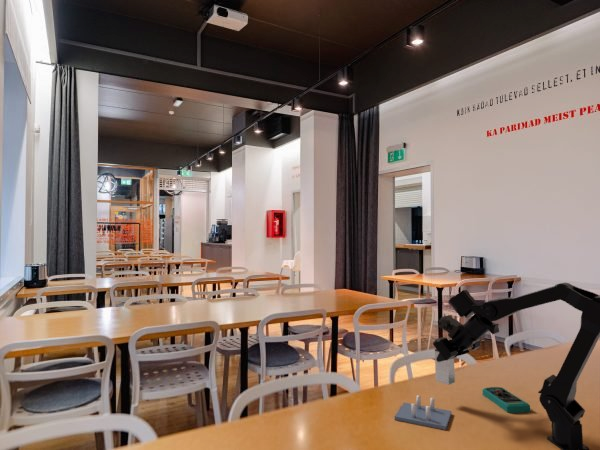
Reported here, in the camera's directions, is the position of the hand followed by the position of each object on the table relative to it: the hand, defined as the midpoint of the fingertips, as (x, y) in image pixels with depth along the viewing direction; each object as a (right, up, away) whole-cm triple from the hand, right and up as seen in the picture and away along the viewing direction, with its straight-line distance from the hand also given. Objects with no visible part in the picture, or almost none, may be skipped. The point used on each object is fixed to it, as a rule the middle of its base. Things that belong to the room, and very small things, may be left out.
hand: (440, 359), depth 126 cm
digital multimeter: (+20, -14, -1) cm, 24 cm away
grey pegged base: (-9, -13, -11) cm, 19 cm away
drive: (+1, -7, -1) cm, 7 cm away
